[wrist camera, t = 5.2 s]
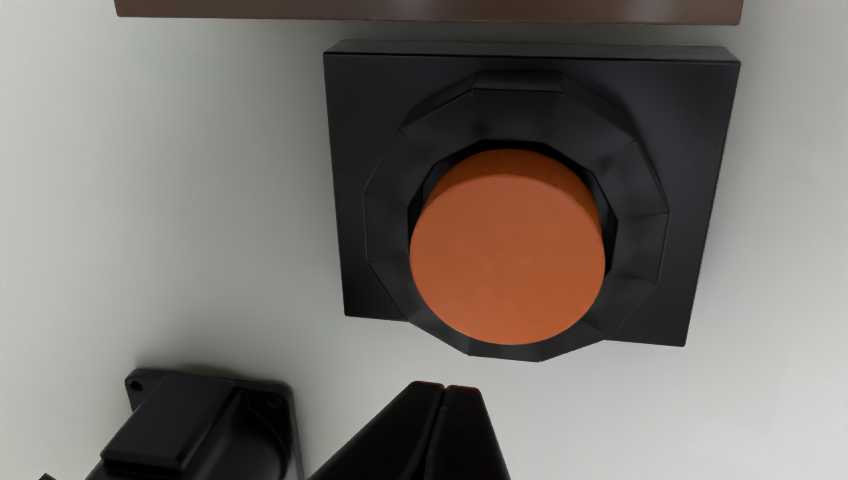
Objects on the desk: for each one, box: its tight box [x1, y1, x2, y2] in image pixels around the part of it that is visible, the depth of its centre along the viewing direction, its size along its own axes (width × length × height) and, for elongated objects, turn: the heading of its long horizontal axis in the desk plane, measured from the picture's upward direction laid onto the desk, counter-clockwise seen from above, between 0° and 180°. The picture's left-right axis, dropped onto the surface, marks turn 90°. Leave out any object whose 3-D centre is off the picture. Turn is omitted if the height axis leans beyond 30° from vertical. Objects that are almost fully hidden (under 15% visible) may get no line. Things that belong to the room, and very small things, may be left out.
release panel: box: [323, 40, 741, 362], centre depth 18 cm, size 10×8×4 cm
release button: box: [410, 148, 605, 345], centre depth 16 cm, size 4×4×2 cm
